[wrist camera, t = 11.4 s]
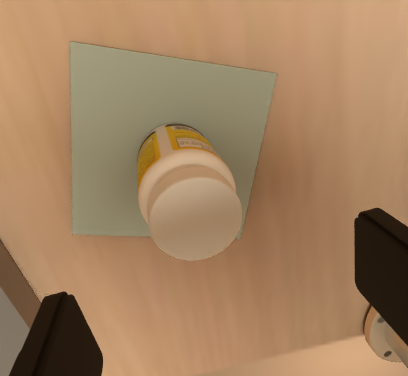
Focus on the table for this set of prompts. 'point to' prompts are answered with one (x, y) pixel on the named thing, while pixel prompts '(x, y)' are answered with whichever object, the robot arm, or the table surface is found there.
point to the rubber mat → (154, 126)
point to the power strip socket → (14, 311)
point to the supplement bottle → (186, 193)
